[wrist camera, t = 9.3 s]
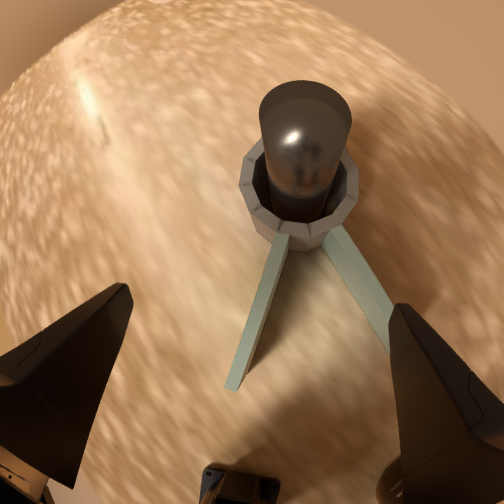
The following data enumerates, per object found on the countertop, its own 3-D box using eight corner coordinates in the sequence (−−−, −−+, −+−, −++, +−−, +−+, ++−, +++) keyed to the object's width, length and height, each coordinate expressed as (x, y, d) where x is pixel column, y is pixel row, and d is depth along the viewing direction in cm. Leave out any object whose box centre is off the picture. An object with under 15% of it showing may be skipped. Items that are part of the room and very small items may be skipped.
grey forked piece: (387, 388, 20) (411, 406, 15) (223, 370, 22) (207, 386, 17) (406, 176, 23) (428, 150, 18) (256, 155, 25) (249, 123, 20)
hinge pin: (320, 231, 23) (351, 158, 11) (268, 224, 24) (252, 147, 12) (324, 183, 24) (350, 86, 12) (275, 177, 24) (265, 77, 12)
